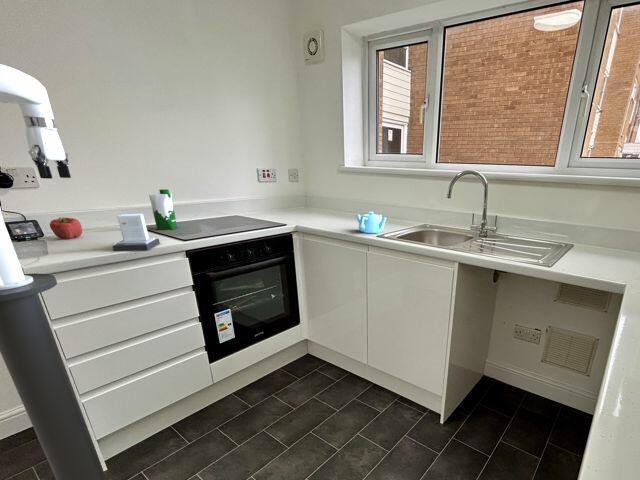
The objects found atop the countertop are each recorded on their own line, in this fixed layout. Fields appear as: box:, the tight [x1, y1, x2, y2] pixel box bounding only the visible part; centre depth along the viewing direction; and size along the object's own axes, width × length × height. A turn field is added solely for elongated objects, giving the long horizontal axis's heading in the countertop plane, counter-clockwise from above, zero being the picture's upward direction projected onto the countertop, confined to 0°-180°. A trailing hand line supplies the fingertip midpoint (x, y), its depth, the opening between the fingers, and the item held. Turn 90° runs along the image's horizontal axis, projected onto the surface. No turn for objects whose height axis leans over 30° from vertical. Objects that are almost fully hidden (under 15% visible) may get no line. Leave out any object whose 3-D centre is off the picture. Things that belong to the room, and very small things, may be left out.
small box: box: [116, 213, 150, 242], centre depth 145 cm, size 8×6×10 cm
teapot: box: [355, 211, 387, 234], centre depth 197 cm, size 15×15×11 cm
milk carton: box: [148, 188, 178, 231], centre depth 183 cm, size 9×9×20 cm
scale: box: [112, 236, 161, 252], centre depth 147 cm, size 13×12×3 cm
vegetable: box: [49, 216, 83, 240], centre depth 156 cm, size 11×10×10 cm
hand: (56, 178), depth 124 cm, fingers open, 9 cm apart
